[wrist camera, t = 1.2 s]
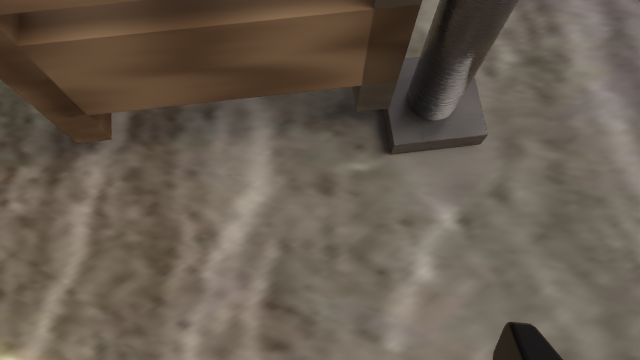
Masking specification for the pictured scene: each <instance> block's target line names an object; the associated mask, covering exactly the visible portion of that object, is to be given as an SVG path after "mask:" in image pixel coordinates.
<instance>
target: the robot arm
mask: <svg viewBox="0 0 640 360" xmlns="http://www.w3.org/2000/svg"><path fill="white" fill-rule="evenodd" d="M493 360H563V359H562V358H561V357H560V355H559V354H558V353H557V352H556V351H555V350H554V348H553V347H552V346H551V345H550V344H549V342H548V341H547V340H546V339H545V338H544V337H543V335H542V334H541V333H540V332H539V331H538V330H537V328H536V327H534V326H533V325H531V324H528V323H518V322H508V323H507V324H506V325H505V327H504V329H503V331H502V333H501V336H500V338H499V340H498V343H497V345H496V347H495V350H494V353H493Z"/></svg>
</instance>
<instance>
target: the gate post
mask: <svg viewBox="0 0 640 360" xmlns="http://www.w3.org/2000/svg"><path fill="white" fill-rule="evenodd" d="M517 2H518V0H440V1H439V4H438V7H437V10H436V13H435V15H434V18H433V21H432V24H431V27H430V30H429V32H428V35H427V38H426V41H425V44H424V46H423V49H422V52H421V55H420V57H416V58H407V59H404V62H403V65H402V68H401V72H400V75H399V78H398V81H397V85H396V88H395V91H394V95H393V98H392V101H391V104H390V108H388V109H383V112H384V118H385V124H386V129H387V135H388V141H389V146H390V152H391V154H399V153H407V152H416V151H425V150H433V149H442V148H451V147H459V146H468V145H477V144H481V143H482V141H483V140H484V139H485V138H486V136H487V135H488V132H487V128H486V124H485V120H484V115H483V111H482V107H481V103H480V99H479V95H478V91H477V86H476V82H475V78H474V76H475V74H476V72H477V71H478V69H479V67H480V65H481V64H482V62H483V60H484V59H485V57H486V55H487V53H488V52H489V50H490V48H491V47H492V45H493V43H494V41H495V40H496V38H497V36H498V35H499V33H500V31H501V29H502V28H503V26H504V24H505V23H506V21H507V19H508V17H509V16H510V14H511V12H512V11H513V9H514V7H515V5H516V4H517Z"/></svg>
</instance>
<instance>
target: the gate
mask: <svg viewBox="0 0 640 360" xmlns="http://www.w3.org/2000/svg"><path fill="white" fill-rule="evenodd" d="M421 2H422V0H0V79H1V80H3V81H4V82H5V83H6V84H7V85H9V86H10V87H11V88H12V89H13V90H15V91H16V92H17V93H18V94H19V95H20V96H22V97H23V98H24V99H25V100H26V101H28V102H29V103H30V104H31V105H32V106H34V107H35V108H36V109H37V110H38V111H40V112H41V113H42V114H43V115H44V116H45V117H47V118H48V119H49V120H50V121H51V122H53V123H54V124H55V125H56V126H57V127H59V128H60V129H61V130H62V131H63V132H65V133H66V134H67V135H68V136H69V137H70V138H72V139H73V140H74V141H75V142H76V143H83V142H92V141H101V140H110V139H111V113H114V112H124V111H133V110H142V109H151V108H160V107H169V106H178V105H188V104H197V103H206V102H215V101H224V100H233V99H242V98H251V97H261V96H270V95H279V94H288V93H297V92H306V91H315V90H325V89H334V88H343V87H352V86H353V92H354V99H355V105H356V111H357V112H361V111H370V110H379V109H388V108H390V104H391V101H392V98H393V95H394V91H395V88H396V85H397V81H398V78H399V75H400V72H401V68H402V65H403V62H404V58H405V55H406V52H407V48H408V45H409V42H410V39H411V35H412V32H413V29H414V25H415V22H416V19H417V16H418V12H419V9H420V6H421Z"/></svg>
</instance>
